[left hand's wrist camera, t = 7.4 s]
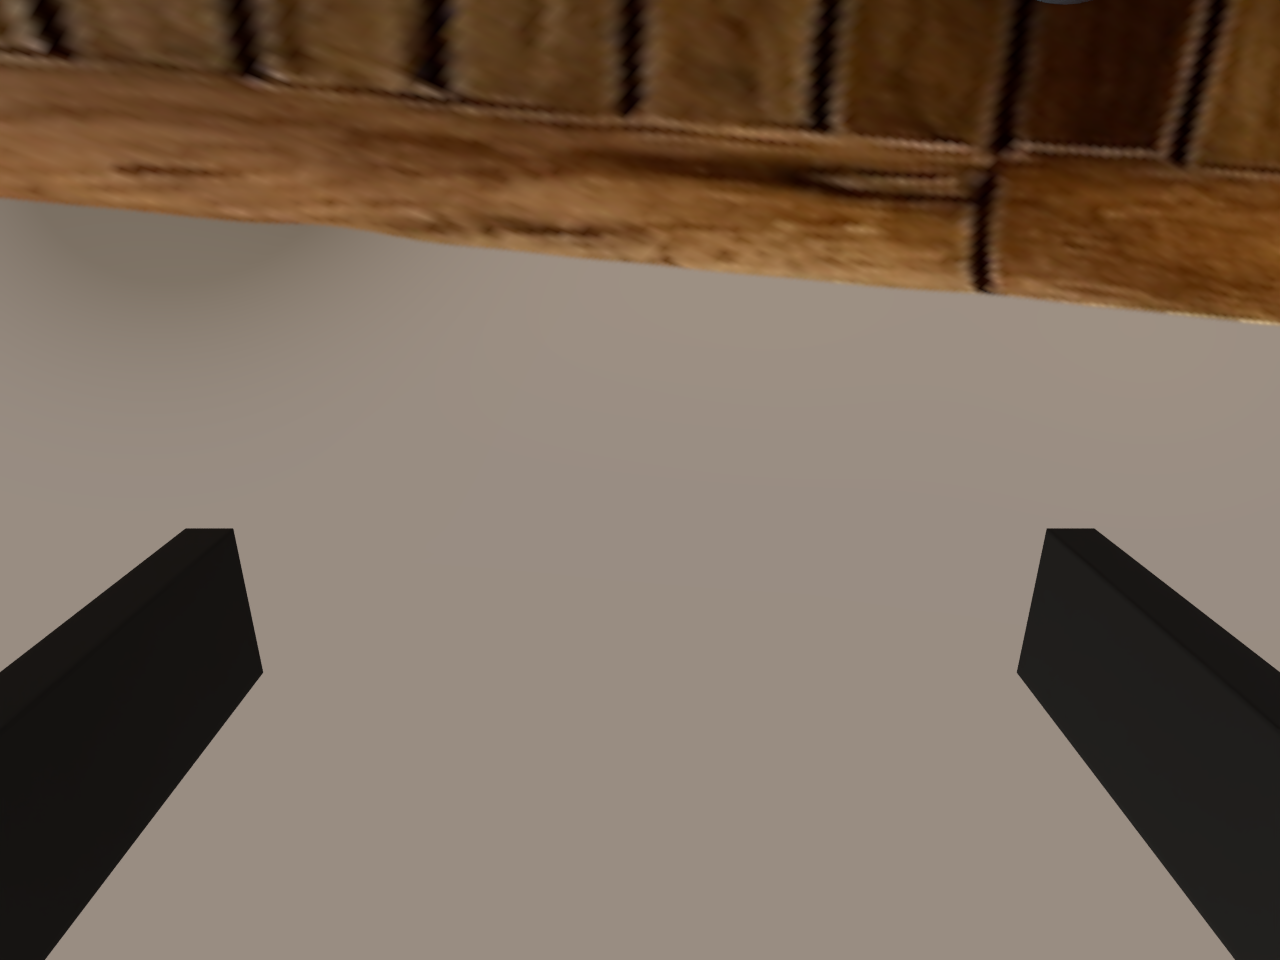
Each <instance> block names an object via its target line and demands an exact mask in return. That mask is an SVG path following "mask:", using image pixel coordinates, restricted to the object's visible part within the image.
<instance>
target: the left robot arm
mask: <svg viewBox="0 0 1280 960" xmlns="http://www.w3.org/2000/svg"><path fill="white" fill-rule="evenodd" d="M262 673H263V669H262V665H261V660H260V655H259V650H258V645H257V641H256V636H255V631H254V626H253V622H252V617H251V612H250V607H249V602H248V597H247V593H246V588H245V583H244V578H243V573H242V569H241V564H240V559H239V554H238V549H237V545H236V540H235V535H234V530H233V529H184V530H183V531H182V532H181V533H179V534H178V535H177V536H176V537H174V538H173V539H172V540H170V541H169V542H168V543H166V544H165V545H164V546H163V547H161V548H160V549H159V550H157V551H156V552H155V553H154V554H152V555H151V556H150V557H148V558H147V559H146V560H144V561H143V562H142V563H141V564H139V565H138V566H137V567H135V568H134V569H133V570H132V571H130V572H129V573H128V574H126V575H125V576H124V577H122V578H121V579H120V580H119V581H117V582H116V583H115V584H113V585H112V586H111V587H110V588H108V589H107V590H106V591H104V592H103V593H102V594H101V595H99V596H98V597H97V598H95V599H94V600H93V601H92V602H90V603H89V604H88V605H86V606H85V607H84V608H83V609H81V610H80V611H79V612H77V613H76V614H75V615H74V616H72V617H71V618H70V619H68V620H67V621H66V622H64V623H63V624H62V625H61V626H59V627H58V628H57V629H55V630H54V631H53V632H52V633H50V634H49V635H48V636H46V637H45V638H44V639H43V640H41V641H40V642H39V643H37V644H36V645H35V646H33V647H32V648H31V649H30V650H28V651H27V652H26V653H24V654H23V655H22V656H21V657H19V658H18V659H17V660H15V661H14V662H13V663H11V664H10V665H9V666H8V667H6V668H5V669H4V670H2V671H1V672H0V960H45V959H46V958H47V956H48V955H49V954H50V952H51V951H52V950H53V948H54V947H55V946H56V944H57V943H58V942H59V940H60V939H61V938H62V936H63V935H64V934H65V933H66V931H67V930H68V929H69V927H70V926H71V925H72V923H73V922H74V921H75V919H76V918H77V917H78V915H79V914H80V913H81V912H82V910H83V909H84V908H85V906H86V905H87V904H88V902H89V901H90V900H91V898H92V897H93V896H94V894H95V893H96V892H97V890H98V889H99V888H100V887H101V885H102V884H103V883H104V881H105V880H106V879H107V877H108V876H109V875H110V873H111V872H112V871H113V869H114V868H115V867H116V865H117V864H118V863H119V862H120V860H121V859H122V858H123V856H124V855H125V854H126V852H127V851H128V850H129V848H130V847H131V846H132V844H133V843H134V842H135V840H136V839H137V838H138V836H139V835H140V834H141V833H142V831H143V830H144V829H145V827H146V826H147V825H148V823H149V822H150V821H151V819H152V818H153V817H154V815H155V814H156V813H157V812H158V810H159V809H160V808H161V806H162V805H163V804H164V802H165V801H166V800H167V798H168V797H169V796H170V794H171V793H172V792H173V790H174V789H175V788H176V787H177V785H178V784H179V783H180V781H181V780H182V779H183V777H184V776H185V775H186V773H187V772H188V771H189V769H190V768H191V767H192V765H193V764H194V763H195V761H196V760H197V759H198V758H199V756H200V755H201V754H202V752H203V751H204V750H205V748H206V747H207V746H208V744H209V743H210V742H211V740H212V739H213V738H214V737H215V735H216V734H217V733H218V731H219V730H220V729H221V727H222V726H223V725H224V723H225V722H226V721H227V719H228V718H229V717H230V715H231V714H232V713H233V712H234V710H235V709H236V707H237V706H238V705H239V704H240V702H241V701H242V700H243V698H244V697H245V696H246V694H247V693H248V692H249V690H250V689H251V688H252V686H253V685H254V684H255V682H256V681H257V680H258V679H259V677H260V676H261V675H262ZM1017 673H1018V675H1019V676H1020V677H1021V679H1022V680H1023V681H1024V683H1025V684H1026V685H1027V686H1028V688H1029V689H1030V690H1031V692H1032V693H1033V694H1034V696H1035V697H1036V698H1037V700H1038V701H1039V702H1040V704H1041V705H1042V706H1043V708H1044V709H1045V710H1046V712H1047V713H1048V714H1049V715H1050V717H1051V718H1052V719H1053V721H1054V722H1055V723H1056V725H1057V726H1058V727H1059V729H1060V730H1061V731H1062V732H1063V734H1064V735H1065V737H1066V738H1067V739H1068V740H1069V742H1070V743H1071V744H1072V746H1073V747H1074V748H1075V750H1076V751H1077V752H1078V754H1079V755H1080V756H1081V758H1082V759H1083V760H1084V761H1085V763H1086V764H1087V765H1088V767H1089V768H1090V769H1091V771H1092V772H1093V773H1094V775H1095V776H1096V777H1097V779H1098V780H1099V781H1100V783H1101V784H1102V785H1103V786H1104V788H1105V789H1106V790H1107V792H1108V793H1109V794H1110V796H1111V797H1112V798H1113V800H1114V801H1115V802H1116V804H1117V805H1118V806H1119V808H1120V809H1121V810H1122V812H1123V813H1124V814H1125V815H1126V817H1127V818H1128V819H1129V821H1130V822H1131V823H1132V825H1133V826H1134V827H1135V829H1136V830H1137V831H1138V833H1139V834H1140V835H1141V836H1142V838H1143V839H1144V840H1145V842H1146V843H1147V844H1148V846H1149V847H1150V848H1151V850H1152V851H1153V852H1154V854H1155V855H1156V856H1157V857H1158V859H1159V860H1160V861H1161V863H1162V864H1163V865H1164V867H1165V868H1166V869H1167V871H1168V872H1169V873H1170V875H1171V876H1172V877H1173V879H1174V880H1175V881H1176V883H1177V884H1178V885H1179V886H1180V888H1181V889H1182V890H1183V892H1184V893H1185V894H1186V896H1187V897H1188V898H1189V900H1190V901H1191V902H1192V904H1193V905H1194V906H1195V908H1196V909H1197V910H1198V912H1199V913H1200V914H1201V915H1202V917H1203V918H1204V919H1205V921H1206V922H1207V923H1208V925H1209V926H1210V927H1211V929H1212V930H1213V931H1214V933H1215V934H1216V935H1217V936H1218V938H1219V939H1220V940H1221V942H1222V943H1223V944H1224V946H1225V947H1226V948H1227V950H1228V951H1229V952H1230V953H1231V955H1232V956H1233V958H1234V959H1235V960H1280V672H1279V671H1278V670H1276V669H1275V668H1274V667H1272V666H1271V665H1270V664H1269V663H1267V662H1266V661H1265V660H1263V659H1262V658H1261V657H1260V656H1258V655H1257V654H1256V653H1254V652H1253V651H1252V650H1250V649H1249V648H1248V647H1246V646H1245V645H1244V644H1243V643H1241V642H1240V641H1239V640H1238V639H1236V638H1235V637H1234V636H1232V635H1231V634H1230V633H1229V632H1227V631H1226V630H1225V629H1223V628H1222V627H1221V626H1219V625H1218V624H1217V623H1216V622H1214V621H1213V620H1212V619H1210V618H1209V617H1208V616H1207V615H1205V614H1204V613H1203V612H1201V611H1200V610H1199V609H1198V608H1196V607H1195V606H1194V605H1192V604H1191V603H1190V602H1189V601H1187V600H1186V599H1185V598H1183V597H1182V596H1181V595H1179V594H1178V593H1177V592H1176V591H1174V590H1173V589H1172V588H1170V587H1169V586H1168V585H1167V584H1165V583H1164V582H1163V581H1161V580H1160V579H1159V578H1157V577H1156V576H1155V575H1154V574H1152V573H1151V572H1150V571H1148V570H1147V569H1146V568H1145V567H1143V566H1142V565H1141V564H1139V563H1138V562H1137V561H1135V560H1134V559H1133V558H1132V557H1130V556H1129V555H1128V554H1127V553H1125V552H1124V551H1123V550H1121V549H1120V548H1119V547H1117V546H1116V545H1115V544H1113V543H1112V542H1111V541H1110V540H1108V539H1107V538H1106V537H1105V536H1103V535H1102V534H1101V533H1099V532H1098V531H1097V530H1096V529H1047V530H1046V535H1045V540H1044V545H1043V549H1042V554H1041V559H1040V564H1039V569H1038V573H1037V578H1036V583H1035V588H1034V593H1033V597H1032V602H1031V607H1030V612H1029V617H1028V621H1027V626H1026V631H1025V636H1024V641H1023V645H1022V650H1021V655H1020V660H1019V665H1018V670H1017Z"/></svg>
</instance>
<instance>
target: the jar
mask: <svg viewBox="0 0 1280 960" xmlns="http://www.w3.org/2000/svg"><path fill="white" fill-rule="evenodd" d="M1038 1H1042V2H1045V3H1053V4H1077V3H1083V2H1088V1H1092V0H1038Z"/></svg>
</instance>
